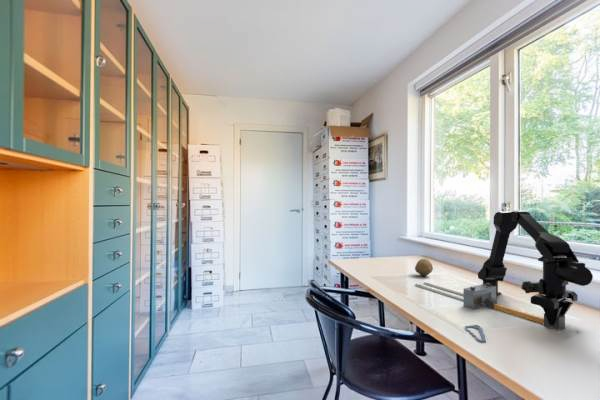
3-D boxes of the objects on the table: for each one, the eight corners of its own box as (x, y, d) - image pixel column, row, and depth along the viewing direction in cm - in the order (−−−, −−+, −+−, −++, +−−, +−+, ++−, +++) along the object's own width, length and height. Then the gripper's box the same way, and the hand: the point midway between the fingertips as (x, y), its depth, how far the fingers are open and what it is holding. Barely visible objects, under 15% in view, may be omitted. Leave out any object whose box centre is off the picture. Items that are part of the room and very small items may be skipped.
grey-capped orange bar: (483, 306, 111) (483, 296, 111) (490, 304, 113) (489, 294, 113) (559, 330, 90) (558, 318, 91) (565, 327, 93) (565, 315, 93)
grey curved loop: (468, 342, 84) (488, 344, 82) (468, 339, 84) (487, 341, 82) (464, 326, 95) (481, 328, 92) (463, 323, 95) (481, 325, 92)
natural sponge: (436, 278, 153) (436, 260, 153) (419, 278, 153) (419, 260, 153) (428, 274, 162) (428, 257, 162) (413, 274, 162) (413, 257, 162)
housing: (429, 282, 144) (429, 268, 144) (496, 302, 116) (496, 284, 116) (407, 287, 137) (407, 271, 137) (473, 309, 108) (473, 289, 108)
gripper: (538, 269, 105) (538, 310, 105) (512, 274, 96) (512, 319, 96) (577, 276, 95) (578, 321, 95) (553, 282, 86) (553, 333, 86)
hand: (554, 323), depth 93 cm, fingers closed on grey-capped orange bar, 4 cm apart
